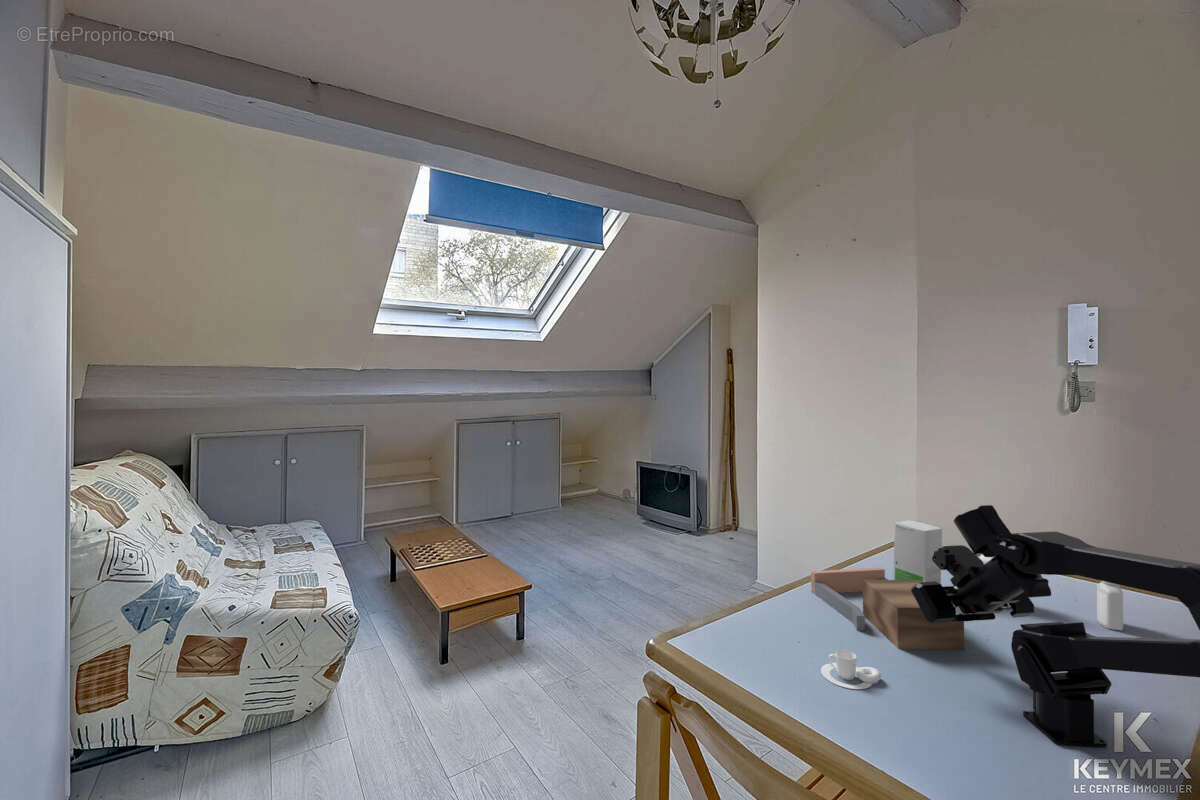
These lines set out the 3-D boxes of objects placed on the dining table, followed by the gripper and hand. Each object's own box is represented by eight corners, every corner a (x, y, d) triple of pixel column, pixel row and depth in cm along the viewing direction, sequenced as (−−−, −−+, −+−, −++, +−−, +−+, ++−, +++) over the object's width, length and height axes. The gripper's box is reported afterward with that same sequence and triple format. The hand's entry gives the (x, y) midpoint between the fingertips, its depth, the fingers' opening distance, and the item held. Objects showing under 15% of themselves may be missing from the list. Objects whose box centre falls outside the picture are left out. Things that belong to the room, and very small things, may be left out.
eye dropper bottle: (1090, 624, 102) (1090, 566, 102) (1099, 617, 105) (1099, 561, 104) (1120, 633, 98) (1120, 572, 98) (1129, 625, 101) (1129, 567, 101)
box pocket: (951, 625, 102) (951, 600, 102) (858, 631, 100) (858, 606, 100) (885, 587, 123) (885, 567, 122) (806, 592, 120) (806, 571, 120)
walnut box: (964, 650, 93) (963, 608, 93) (897, 649, 93) (897, 607, 93) (920, 617, 107) (920, 580, 107) (863, 616, 107) (862, 579, 107)
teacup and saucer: (885, 679, 84) (884, 655, 84) (869, 700, 79) (868, 674, 78) (831, 660, 90) (831, 638, 90) (813, 678, 85) (813, 654, 85)
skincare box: (892, 584, 125) (891, 522, 124) (909, 579, 127) (908, 519, 127) (926, 596, 117) (925, 530, 117) (943, 591, 120) (943, 526, 120)
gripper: (1018, 533, 86) (965, 573, 98) (918, 537, 85) (876, 578, 96) (1064, 596, 79) (1002, 632, 90) (956, 603, 77) (906, 638, 88)
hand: (944, 617), depth 91 cm, fingers closed
